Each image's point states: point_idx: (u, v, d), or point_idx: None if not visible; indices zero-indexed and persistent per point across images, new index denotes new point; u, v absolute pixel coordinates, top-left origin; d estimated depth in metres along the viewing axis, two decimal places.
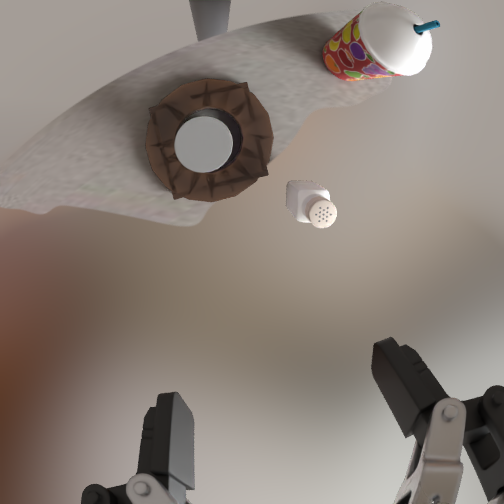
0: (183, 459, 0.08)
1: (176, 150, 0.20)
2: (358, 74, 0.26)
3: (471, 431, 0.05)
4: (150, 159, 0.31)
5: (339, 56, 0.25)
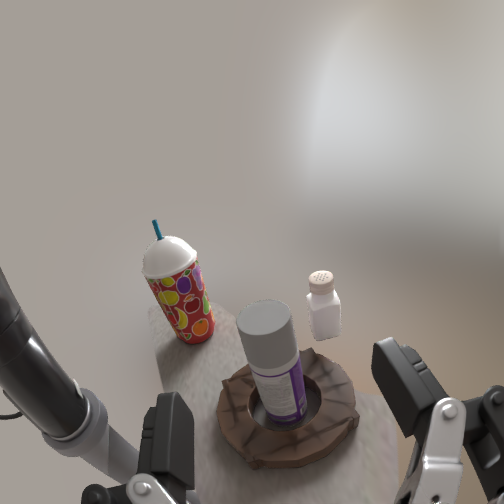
0: (183, 459, 0.08)
1: (270, 331, 0.20)
2: (205, 299, 0.41)
3: (471, 431, 0.05)
4: (314, 451, 0.21)
5: (191, 312, 0.39)
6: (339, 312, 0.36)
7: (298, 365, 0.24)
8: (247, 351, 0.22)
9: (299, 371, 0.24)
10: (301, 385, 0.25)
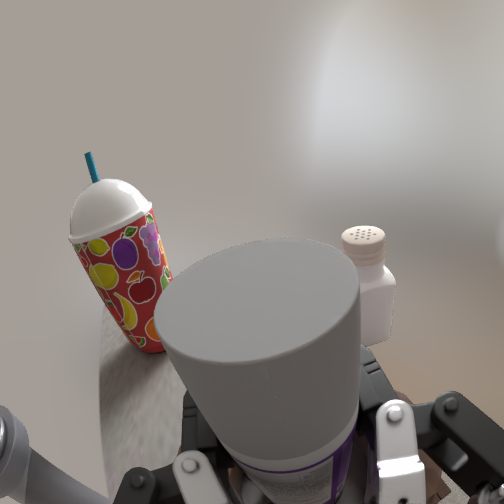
0: None
1: (284, 348, 0.04)
2: (165, 281, 0.25)
3: (421, 436, 0.06)
4: None
5: (141, 301, 0.23)
6: (393, 299, 0.19)
7: (354, 429, 0.07)
8: (199, 408, 0.06)
9: (353, 439, 0.08)
10: (349, 460, 0.09)
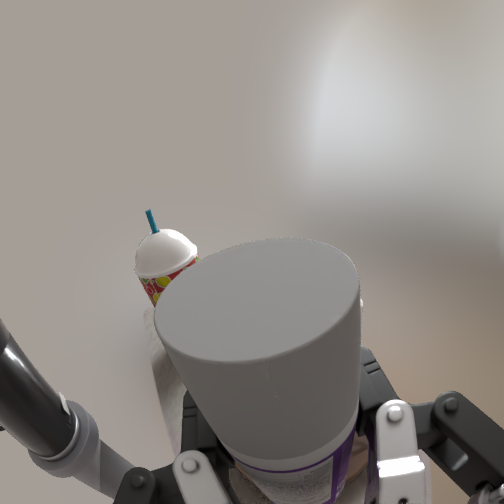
0: None
1: (283, 347, 0.04)
2: None
3: (421, 436, 0.06)
4: None
5: None
6: (361, 315, 0.30)
7: (354, 429, 0.07)
8: (199, 408, 0.06)
9: (353, 439, 0.08)
10: (349, 460, 0.09)
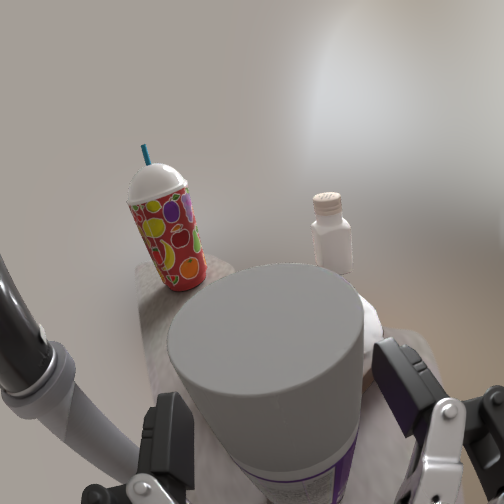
0: (183, 459, 0.08)
1: (293, 381, 0.04)
2: (195, 234, 0.36)
3: (471, 431, 0.05)
4: None
5: (179, 246, 0.34)
6: (350, 239, 0.31)
7: (355, 440, 0.07)
8: (210, 426, 0.06)
9: (354, 449, 0.08)
10: (349, 468, 0.09)
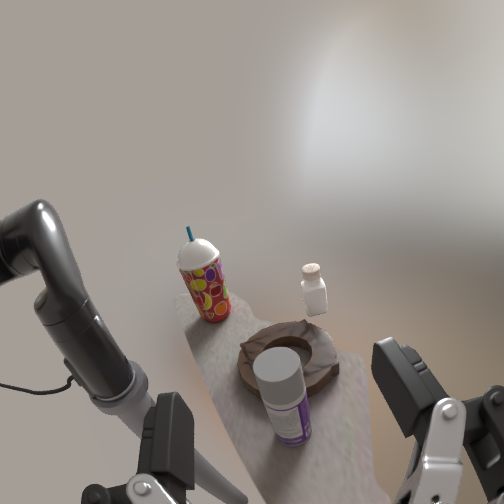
0: (183, 459, 0.08)
1: (283, 379, 0.23)
2: (224, 286, 0.55)
3: (471, 431, 0.05)
4: (307, 386, 0.35)
5: (215, 295, 0.53)
6: (325, 294, 0.50)
7: (305, 399, 0.26)
8: (262, 391, 0.25)
9: (305, 404, 0.26)
10: (307, 414, 0.27)
